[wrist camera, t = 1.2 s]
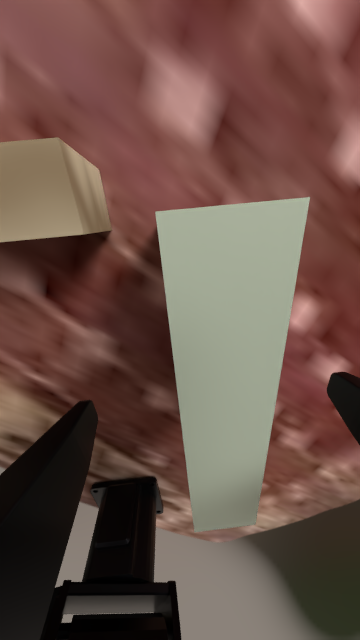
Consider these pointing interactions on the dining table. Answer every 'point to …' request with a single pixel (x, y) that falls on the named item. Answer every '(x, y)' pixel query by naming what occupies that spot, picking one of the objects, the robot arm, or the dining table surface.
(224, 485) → the pale green plank
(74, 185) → the birch rail
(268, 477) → the dining table surface
